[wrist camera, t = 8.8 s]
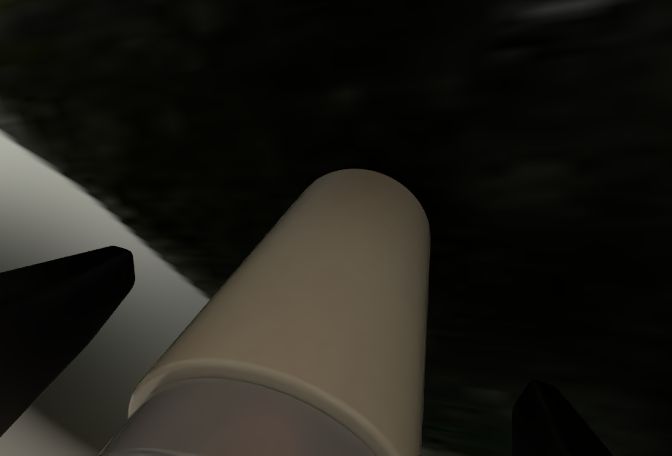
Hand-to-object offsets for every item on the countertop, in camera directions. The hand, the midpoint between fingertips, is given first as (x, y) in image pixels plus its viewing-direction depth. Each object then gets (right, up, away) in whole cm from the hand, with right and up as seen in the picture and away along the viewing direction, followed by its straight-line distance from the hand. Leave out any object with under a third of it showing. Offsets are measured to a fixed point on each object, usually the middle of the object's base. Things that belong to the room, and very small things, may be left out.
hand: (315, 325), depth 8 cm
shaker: (+1, +2, +4) cm, 4 cm away
